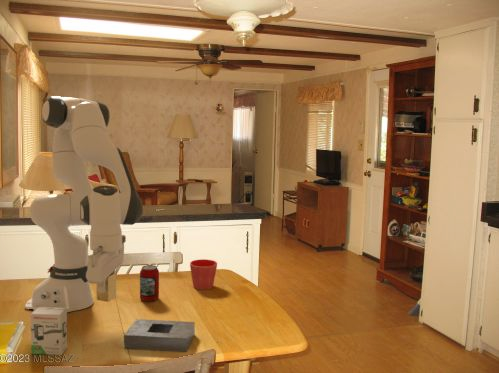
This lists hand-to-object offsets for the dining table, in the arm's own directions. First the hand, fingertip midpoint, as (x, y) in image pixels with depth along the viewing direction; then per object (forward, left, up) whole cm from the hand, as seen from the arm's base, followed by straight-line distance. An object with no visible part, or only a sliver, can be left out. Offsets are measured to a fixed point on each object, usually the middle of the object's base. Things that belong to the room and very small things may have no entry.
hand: (106, 288), depth 149 cm
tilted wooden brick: (0, 0, -3) cm, 3 cm away
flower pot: (+20, +52, -16) cm, 58 cm away
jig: (+16, 0, -15) cm, 22 cm away
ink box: (-13, -10, -16) cm, 23 cm away
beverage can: (+3, +35, -16) cm, 38 cm away
